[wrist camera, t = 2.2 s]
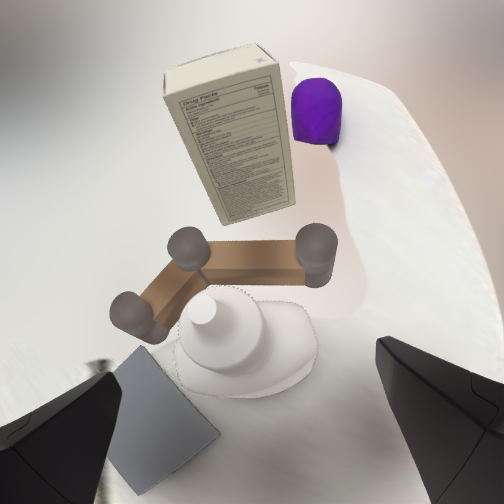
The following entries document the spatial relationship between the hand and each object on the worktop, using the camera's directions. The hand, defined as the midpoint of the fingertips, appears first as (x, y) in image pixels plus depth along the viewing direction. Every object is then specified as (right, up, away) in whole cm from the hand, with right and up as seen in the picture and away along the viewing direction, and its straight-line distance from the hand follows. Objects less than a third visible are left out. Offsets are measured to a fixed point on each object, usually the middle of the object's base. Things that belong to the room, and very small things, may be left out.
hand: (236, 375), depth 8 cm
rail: (-1, +1, +11) cm, 11 cm away
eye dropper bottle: (+1, -3, +8) cm, 9 cm away
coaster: (-7, -8, +7) cm, 13 cm away
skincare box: (+1, +8, +15) cm, 17 cm away
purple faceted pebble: (+8, +18, +20) cm, 28 cm away
